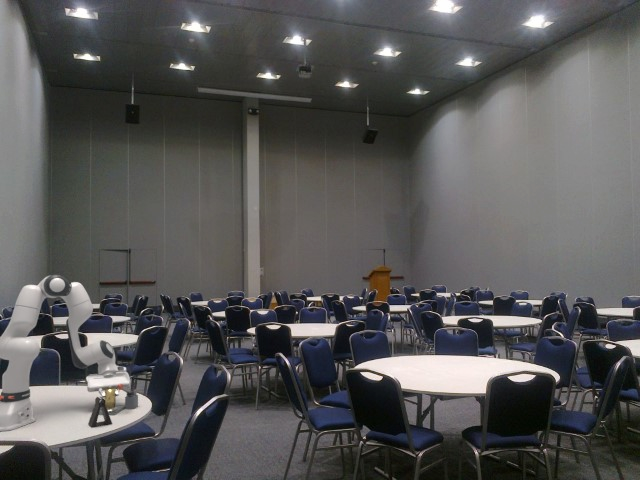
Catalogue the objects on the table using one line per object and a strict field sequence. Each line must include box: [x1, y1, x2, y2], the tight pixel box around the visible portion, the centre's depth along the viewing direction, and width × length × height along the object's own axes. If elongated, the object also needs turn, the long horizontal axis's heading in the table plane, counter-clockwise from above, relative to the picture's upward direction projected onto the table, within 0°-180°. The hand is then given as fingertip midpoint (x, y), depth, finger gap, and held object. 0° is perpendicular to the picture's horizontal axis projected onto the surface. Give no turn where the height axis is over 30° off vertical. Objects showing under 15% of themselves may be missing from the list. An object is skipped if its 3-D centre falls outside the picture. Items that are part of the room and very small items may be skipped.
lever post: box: [124, 388, 139, 410], centre depth 283 cm, size 4×5×9 cm
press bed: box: [98, 405, 126, 416], centre depth 275 cm, size 12×10×1 cm
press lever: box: [118, 384, 134, 395], centre depth 276 cm, size 17×3×3 cm, turn 176°
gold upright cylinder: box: [104, 386, 117, 409], centre depth 276 cm, size 5×5×10 cm
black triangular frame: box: [88, 396, 113, 429], centre depth 254 cm, size 9×6×12 cm, turn 125°
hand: (110, 396), depth 275 cm, fingers closed on gold upright cylinder, 5 cm apart
